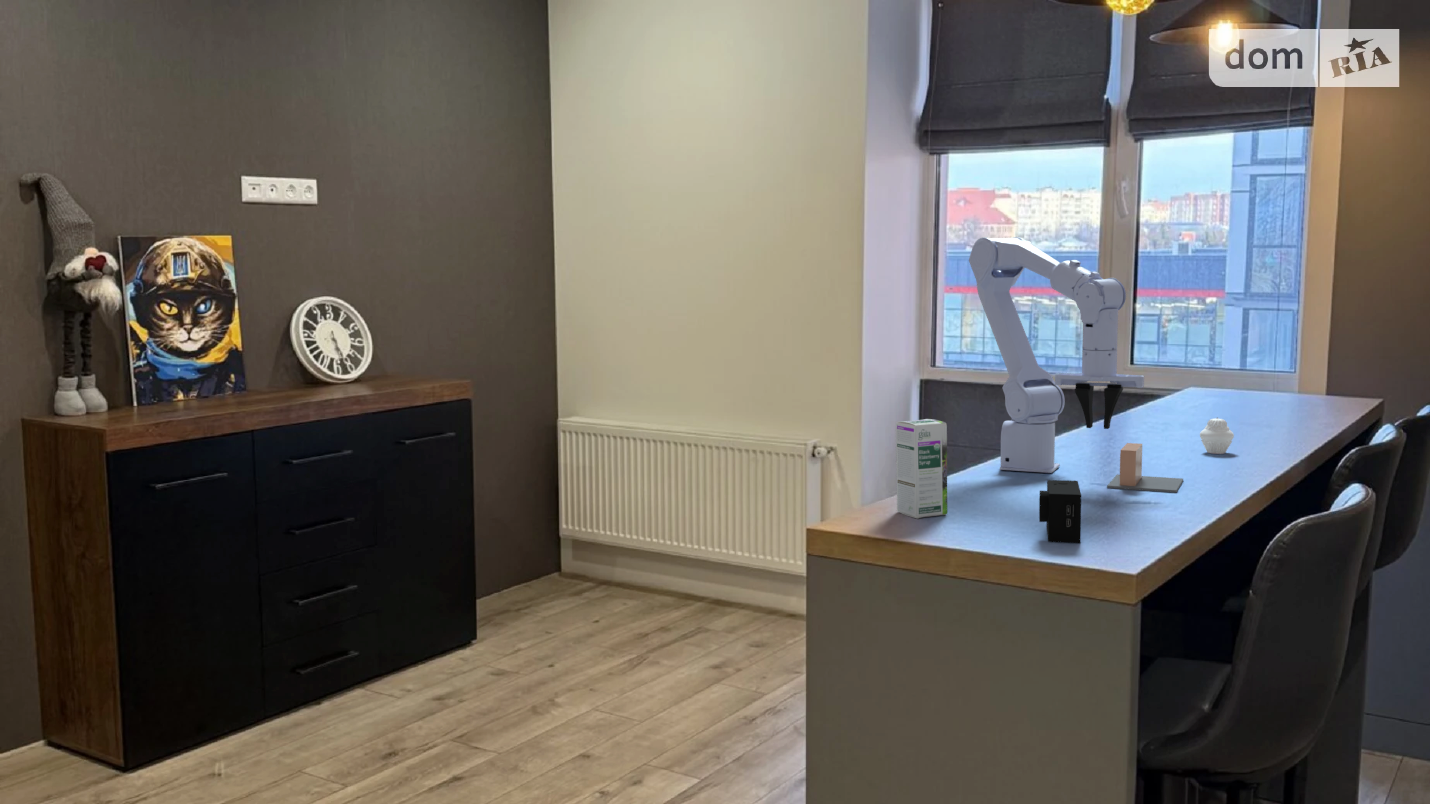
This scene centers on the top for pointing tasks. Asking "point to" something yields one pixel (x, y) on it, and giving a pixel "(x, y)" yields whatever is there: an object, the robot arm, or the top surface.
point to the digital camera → (1061, 511)
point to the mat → (1149, 484)
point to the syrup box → (921, 468)
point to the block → (1131, 464)
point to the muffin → (1216, 436)
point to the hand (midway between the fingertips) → (1098, 427)
